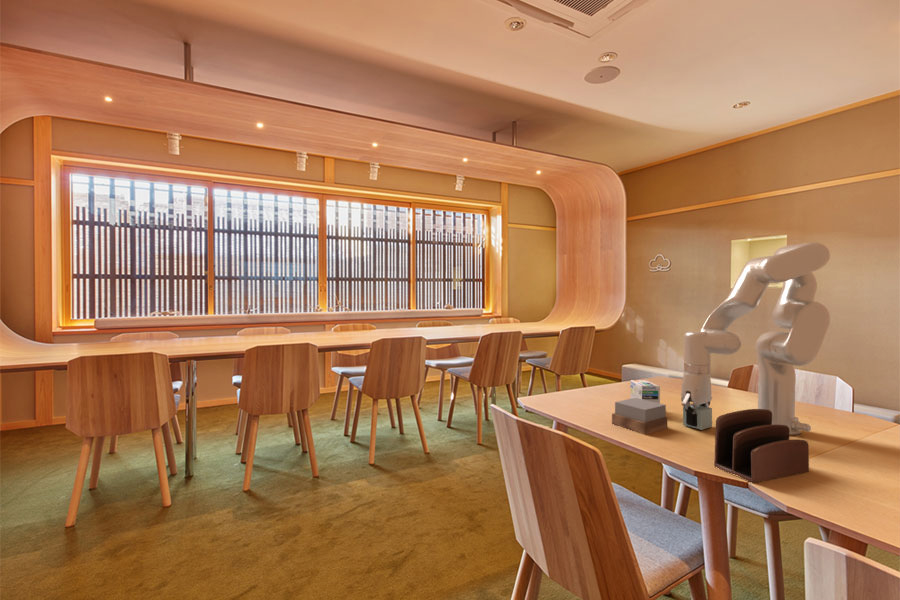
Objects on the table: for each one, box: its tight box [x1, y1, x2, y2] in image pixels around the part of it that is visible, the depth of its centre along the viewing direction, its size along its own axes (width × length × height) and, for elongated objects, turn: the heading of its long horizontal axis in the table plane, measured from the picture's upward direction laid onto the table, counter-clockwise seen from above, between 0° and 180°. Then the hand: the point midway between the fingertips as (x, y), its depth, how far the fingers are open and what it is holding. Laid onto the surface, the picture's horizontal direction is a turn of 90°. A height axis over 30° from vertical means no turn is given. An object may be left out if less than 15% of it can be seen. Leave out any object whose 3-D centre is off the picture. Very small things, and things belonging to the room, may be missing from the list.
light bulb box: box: [630, 379, 661, 404], centre depth 156 cm, size 11×7×11 cm, turn 179°
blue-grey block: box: [682, 405, 713, 431], centre depth 138 cm, size 6×6×6 cm
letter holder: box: [714, 408, 810, 484], centre depth 105 cm, size 10×20×14 cm, turn 109°
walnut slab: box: [611, 412, 668, 435], centre depth 139 cm, size 12×12×4 cm
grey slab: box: [614, 398, 667, 422], centre depth 139 cm, size 11×11×4 cm
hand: (697, 423), depth 138 cm, fingers closed on blue-grey block, 6 cm apart
